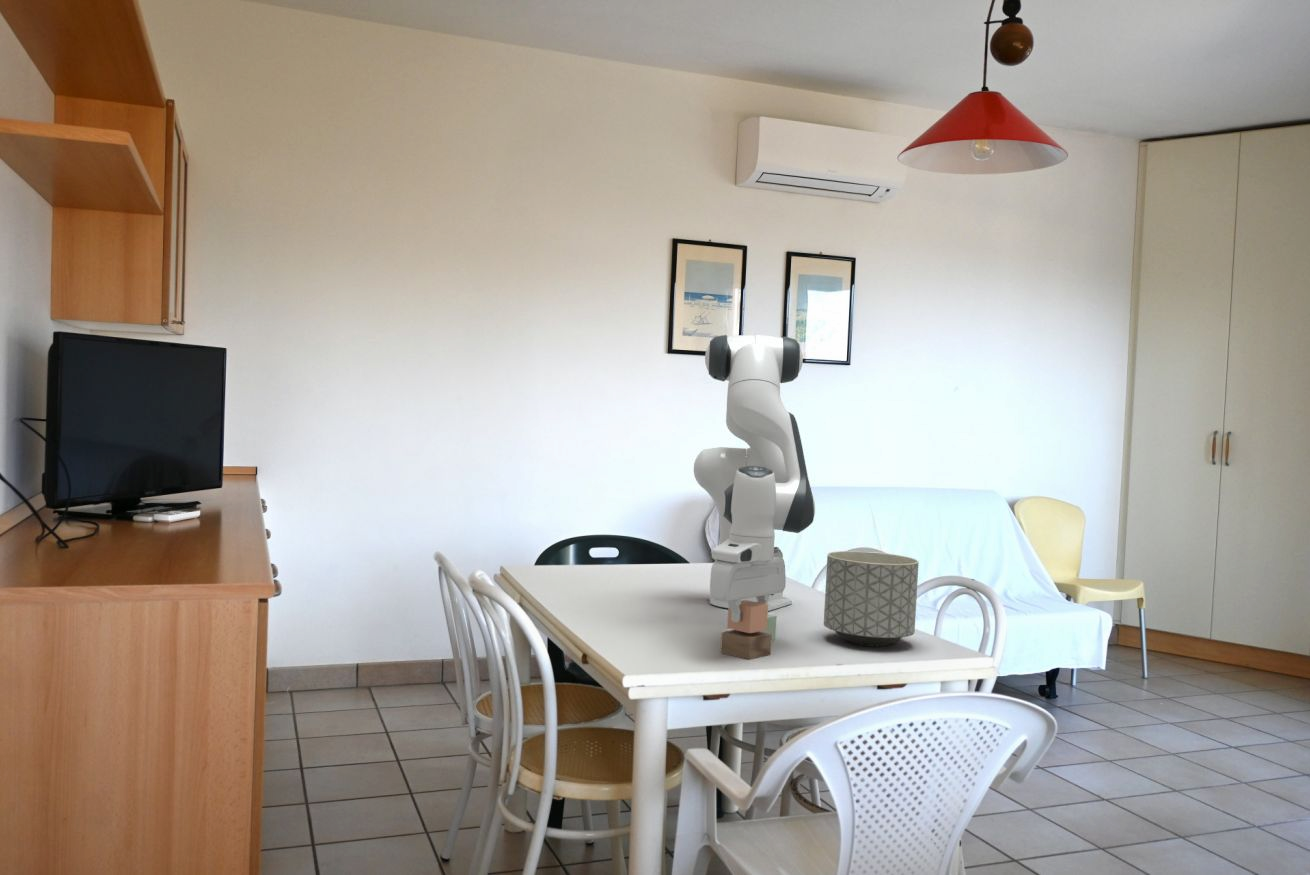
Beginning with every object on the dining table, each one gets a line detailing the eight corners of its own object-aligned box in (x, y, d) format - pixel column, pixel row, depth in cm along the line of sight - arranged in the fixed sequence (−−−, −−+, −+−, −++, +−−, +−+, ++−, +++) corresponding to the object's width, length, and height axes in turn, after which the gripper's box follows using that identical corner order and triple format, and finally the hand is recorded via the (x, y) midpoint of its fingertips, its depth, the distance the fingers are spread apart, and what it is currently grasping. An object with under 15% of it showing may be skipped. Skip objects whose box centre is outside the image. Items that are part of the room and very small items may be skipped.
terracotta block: (744, 624, 200) (745, 600, 200) (766, 629, 197) (768, 604, 196) (727, 628, 196) (728, 602, 196) (749, 633, 193) (751, 607, 192)
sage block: (754, 635, 215) (755, 611, 215) (775, 639, 211) (776, 616, 211) (738, 638, 211) (739, 614, 210) (759, 643, 207) (760, 619, 207)
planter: (896, 657, 200) (902, 567, 200) (808, 641, 210) (813, 556, 210) (925, 642, 216) (930, 558, 216) (842, 628, 226) (846, 548, 226)
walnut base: (742, 647, 201) (743, 627, 201) (770, 654, 197) (771, 634, 197) (720, 652, 196) (721, 632, 196) (749, 659, 191) (750, 638, 191)
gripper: (769, 544, 206) (766, 610, 206) (706, 550, 191) (702, 622, 191) (795, 548, 202) (791, 616, 202) (732, 554, 187) (728, 628, 187)
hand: (747, 619), depth 196 cm, fingers closed on terracotta block, 5 cm apart
